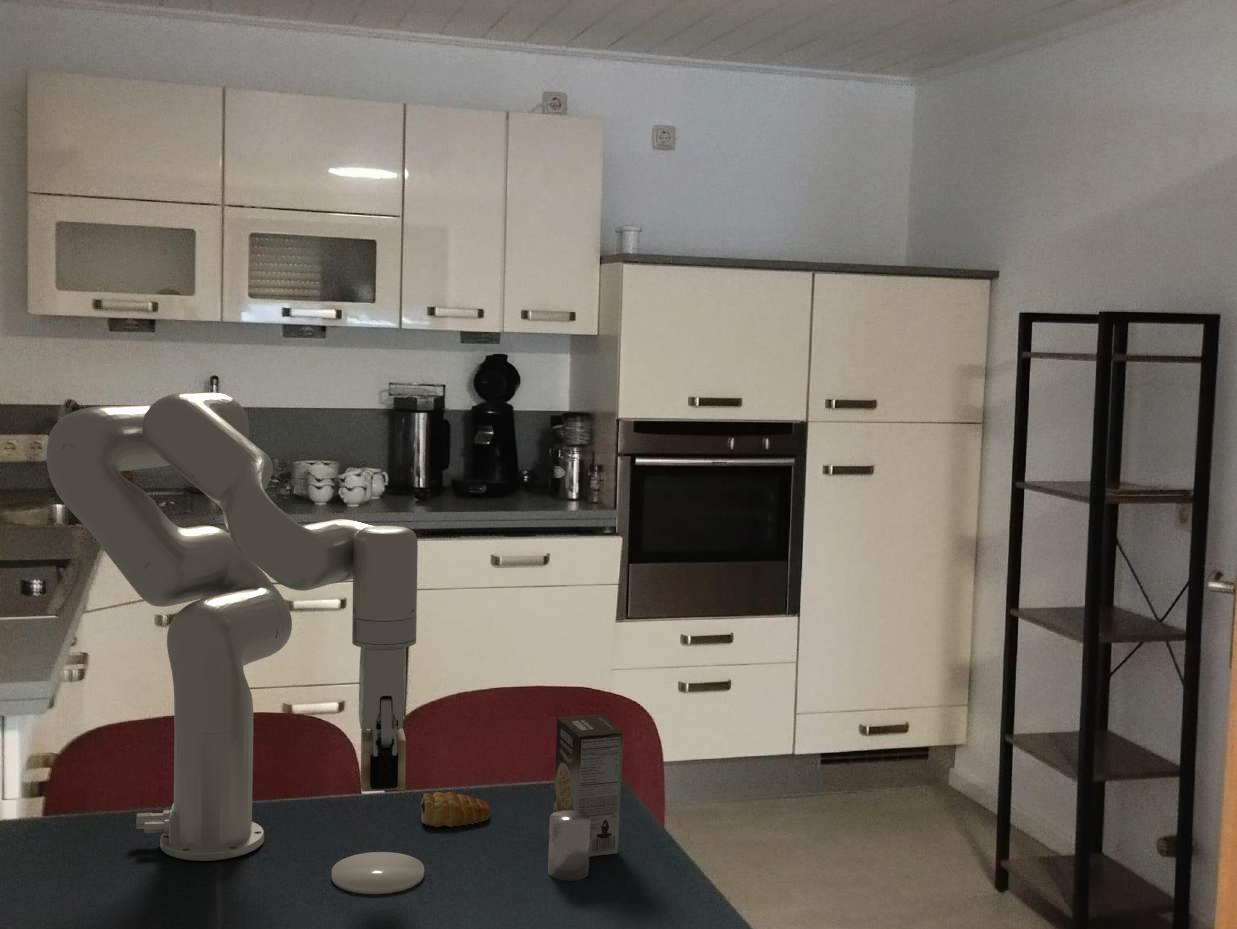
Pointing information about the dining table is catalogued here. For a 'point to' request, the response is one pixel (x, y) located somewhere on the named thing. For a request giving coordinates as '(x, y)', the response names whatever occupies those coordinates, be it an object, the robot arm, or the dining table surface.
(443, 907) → the dining table surface
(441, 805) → the pastry
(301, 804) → the dining table surface
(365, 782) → the block
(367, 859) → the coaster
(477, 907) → the dining table surface
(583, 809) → the coffee box
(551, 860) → the tin
